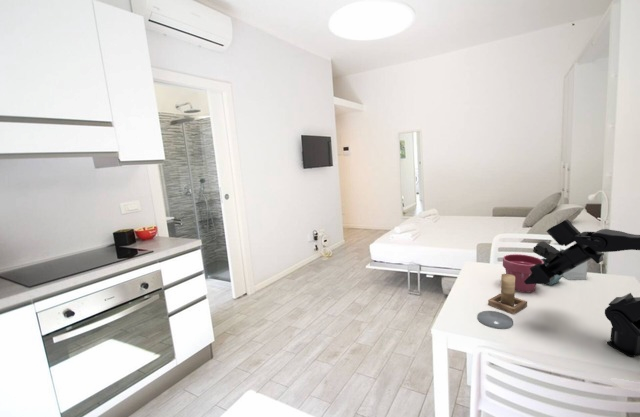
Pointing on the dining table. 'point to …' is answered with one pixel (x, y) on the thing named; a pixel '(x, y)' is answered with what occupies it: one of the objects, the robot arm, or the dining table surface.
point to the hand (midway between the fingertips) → (531, 279)
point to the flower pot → (555, 275)
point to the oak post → (507, 289)
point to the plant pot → (520, 270)
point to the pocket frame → (513, 310)
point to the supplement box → (576, 271)
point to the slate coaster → (495, 319)
